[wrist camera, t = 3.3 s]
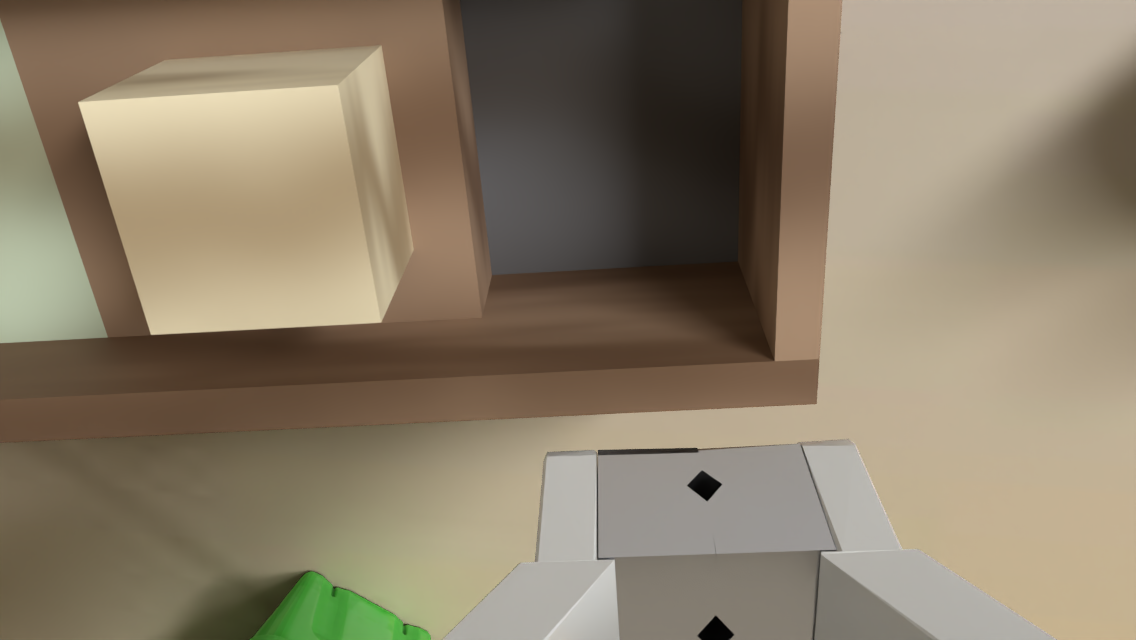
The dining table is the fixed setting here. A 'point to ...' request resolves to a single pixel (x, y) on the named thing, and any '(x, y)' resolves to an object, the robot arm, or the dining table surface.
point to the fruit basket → (332, 616)
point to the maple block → (256, 188)
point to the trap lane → (451, 216)
